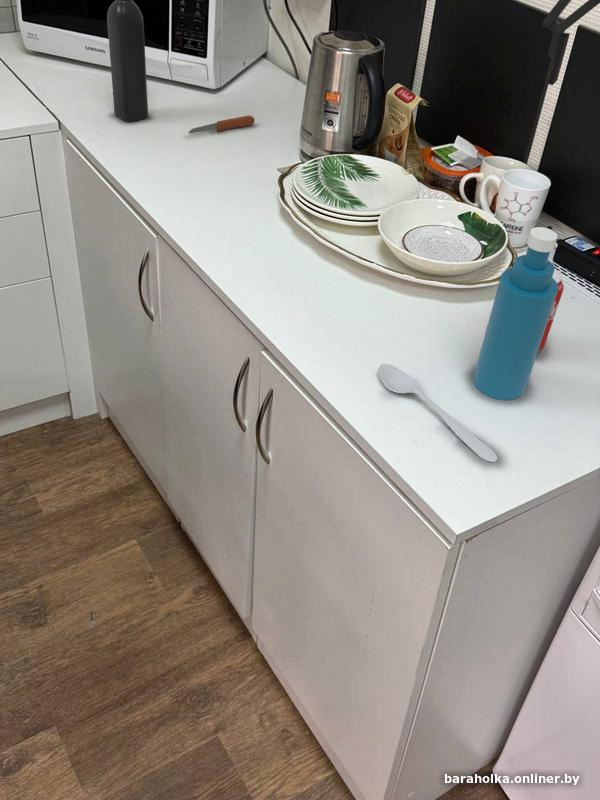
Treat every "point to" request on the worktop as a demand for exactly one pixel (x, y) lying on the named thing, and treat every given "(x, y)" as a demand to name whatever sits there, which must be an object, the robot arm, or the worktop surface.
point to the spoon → (406, 384)
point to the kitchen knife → (226, 124)
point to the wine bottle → (127, 60)
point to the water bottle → (518, 320)
